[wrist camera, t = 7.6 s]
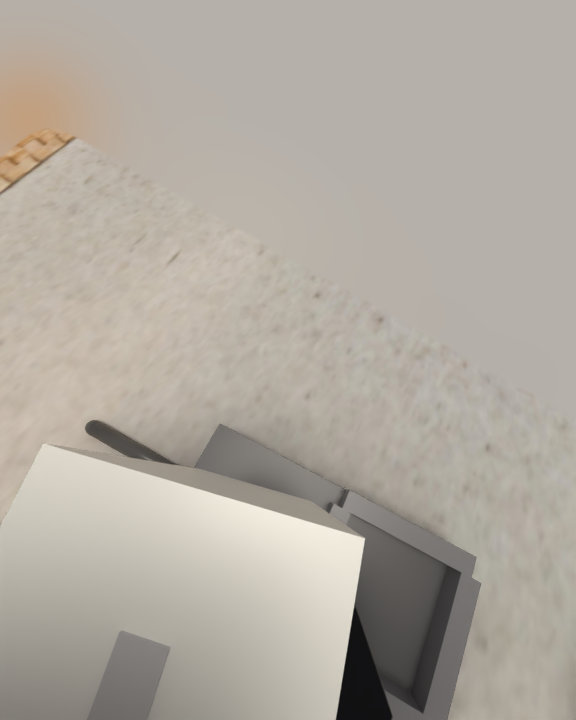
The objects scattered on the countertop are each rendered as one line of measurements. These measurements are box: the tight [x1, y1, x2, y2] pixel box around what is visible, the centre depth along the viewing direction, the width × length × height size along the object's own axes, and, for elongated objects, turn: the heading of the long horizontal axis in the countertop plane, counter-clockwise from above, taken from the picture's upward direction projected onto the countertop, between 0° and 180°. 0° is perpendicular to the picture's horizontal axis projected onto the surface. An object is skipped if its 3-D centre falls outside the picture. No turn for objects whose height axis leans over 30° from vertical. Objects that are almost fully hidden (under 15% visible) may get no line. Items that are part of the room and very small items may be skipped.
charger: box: [0, 444, 365, 720], centre depth 8 cm, size 4×4×9 cm
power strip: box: [85, 420, 481, 720], centre depth 19 cm, size 8×24×4 cm, turn 63°
